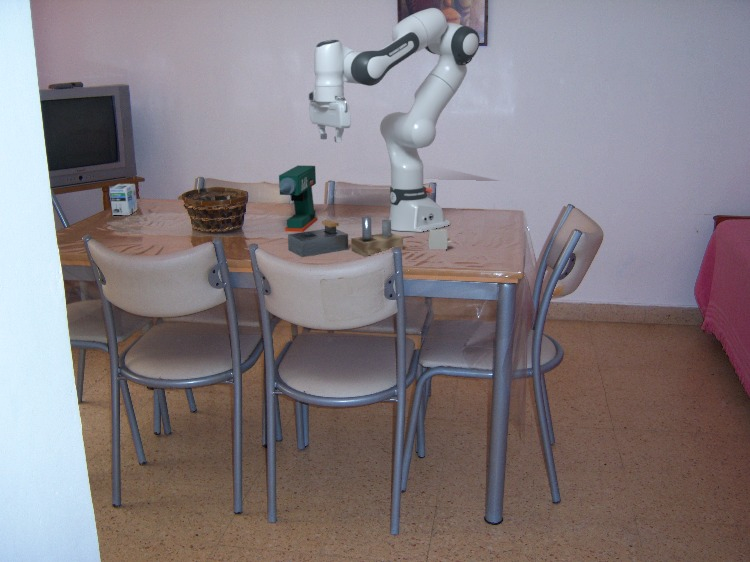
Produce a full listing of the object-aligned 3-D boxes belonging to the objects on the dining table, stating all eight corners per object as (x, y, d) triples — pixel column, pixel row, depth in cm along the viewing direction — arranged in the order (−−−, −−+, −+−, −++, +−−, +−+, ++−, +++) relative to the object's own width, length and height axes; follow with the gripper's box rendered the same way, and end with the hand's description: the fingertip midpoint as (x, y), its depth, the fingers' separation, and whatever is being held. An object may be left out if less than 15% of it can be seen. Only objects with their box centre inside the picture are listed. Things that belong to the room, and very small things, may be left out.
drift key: (331, 244, 252) (330, 219, 249) (339, 247, 247) (338, 222, 245) (322, 245, 250) (321, 221, 248) (330, 249, 246) (329, 224, 243)
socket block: (333, 242, 255) (332, 227, 253) (348, 249, 246) (348, 234, 245) (288, 249, 247) (287, 234, 245) (302, 257, 239) (301, 241, 237)
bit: (368, 250, 245) (368, 215, 242) (373, 252, 243) (372, 217, 240) (361, 251, 244) (360, 217, 240) (365, 253, 241) (365, 218, 238)
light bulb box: (129, 216, 297) (126, 188, 294) (112, 216, 297) (108, 188, 294) (138, 210, 307) (135, 183, 304) (121, 210, 307) (118, 183, 304)
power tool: (293, 241, 257) (290, 181, 251) (272, 240, 258) (269, 180, 252) (319, 220, 287) (317, 165, 281) (300, 219, 288) (298, 165, 282)
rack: (389, 244, 252) (389, 217, 249) (403, 249, 245) (403, 221, 242) (351, 250, 245) (350, 222, 242) (364, 256, 238) (363, 227, 236)
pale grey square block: (427, 250, 246) (427, 227, 244) (449, 249, 247) (449, 226, 244) (428, 253, 243) (429, 229, 241) (451, 252, 243) (451, 229, 241)
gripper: (355, 96, 234) (356, 143, 238) (322, 93, 251) (324, 136, 255) (337, 97, 231) (338, 145, 235) (305, 94, 247) (306, 138, 252)
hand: (330, 140), depth 245 cm, fingers open, 8 cm apart
